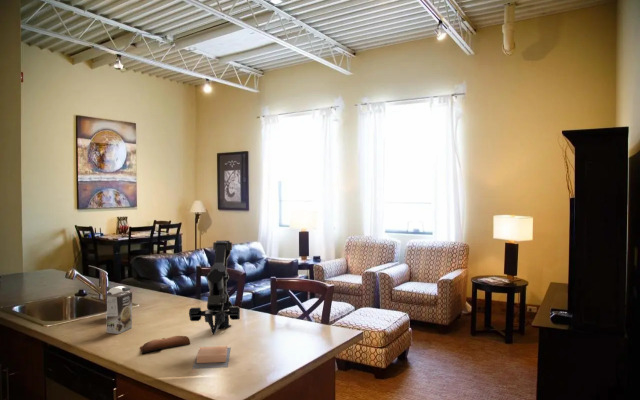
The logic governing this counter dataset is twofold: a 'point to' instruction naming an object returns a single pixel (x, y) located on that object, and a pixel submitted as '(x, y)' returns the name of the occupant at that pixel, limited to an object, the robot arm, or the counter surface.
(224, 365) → the mat
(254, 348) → the counter surface
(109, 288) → the white piece
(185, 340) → the sunglasses case
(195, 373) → the counter surface
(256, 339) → the counter surface
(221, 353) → the tile
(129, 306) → the coffee box
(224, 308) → the robot arm
